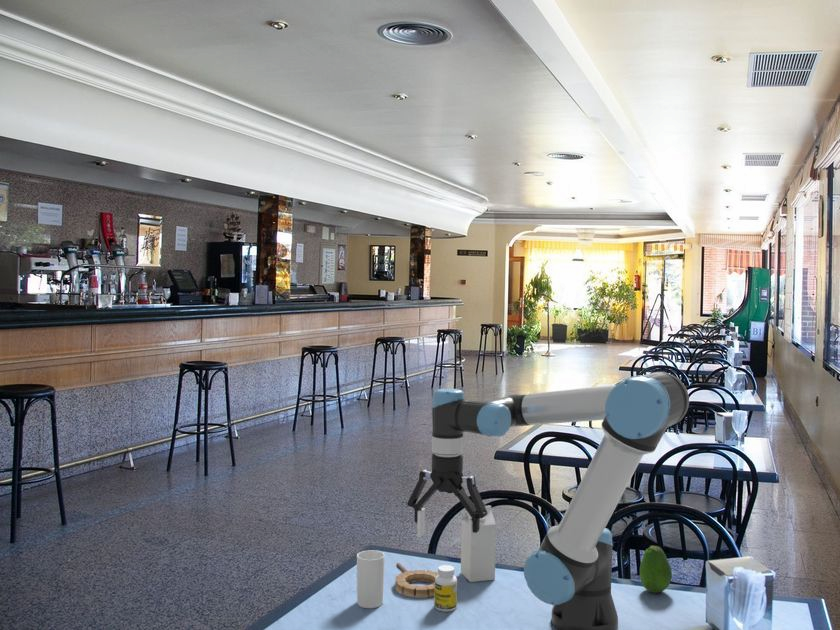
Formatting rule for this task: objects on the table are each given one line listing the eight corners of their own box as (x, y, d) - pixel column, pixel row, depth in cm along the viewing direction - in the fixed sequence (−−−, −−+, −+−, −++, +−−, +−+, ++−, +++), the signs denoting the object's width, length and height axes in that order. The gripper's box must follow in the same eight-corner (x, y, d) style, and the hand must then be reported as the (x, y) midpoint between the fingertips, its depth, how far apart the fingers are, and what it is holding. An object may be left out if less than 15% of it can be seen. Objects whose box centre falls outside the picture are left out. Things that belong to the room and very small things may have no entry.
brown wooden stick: (412, 577, 204) (412, 575, 204) (410, 578, 204) (410, 576, 204) (399, 564, 214) (399, 562, 214) (396, 565, 213) (396, 563, 213)
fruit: (677, 593, 197) (679, 547, 196) (659, 601, 192) (660, 553, 191) (650, 583, 203) (652, 538, 202) (632, 590, 198) (633, 544, 197)
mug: (379, 610, 184) (380, 561, 183) (352, 607, 185) (353, 558, 185) (389, 593, 194) (390, 547, 193) (364, 591, 195) (364, 544, 195)
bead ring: (454, 583, 201) (454, 575, 201) (431, 601, 189) (431, 593, 189) (410, 574, 207) (410, 566, 207) (386, 590, 195) (386, 583, 195)
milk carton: (460, 573, 208) (461, 503, 208) (484, 570, 210) (486, 502, 210) (470, 582, 202) (471, 511, 201) (495, 580, 204) (496, 509, 203)
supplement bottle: (430, 609, 185) (431, 569, 184) (440, 601, 190) (441, 562, 189) (450, 614, 182) (451, 573, 182) (460, 605, 187) (460, 566, 187)
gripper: (501, 456, 182) (500, 544, 183) (409, 445, 193) (408, 528, 194) (489, 462, 175) (488, 554, 176) (394, 450, 187) (393, 536, 188)
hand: (446, 540), depth 185 cm, fingers open, 13 cm apart
